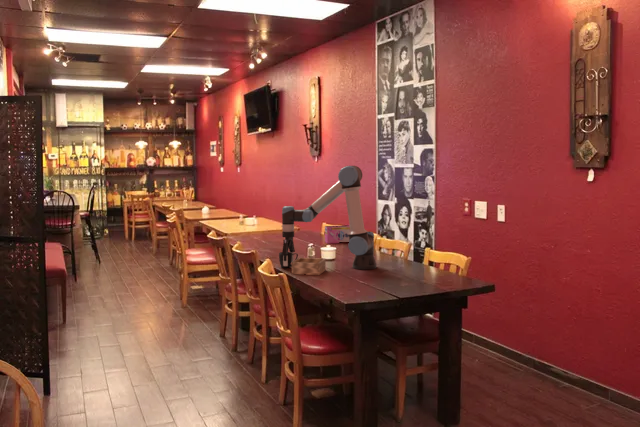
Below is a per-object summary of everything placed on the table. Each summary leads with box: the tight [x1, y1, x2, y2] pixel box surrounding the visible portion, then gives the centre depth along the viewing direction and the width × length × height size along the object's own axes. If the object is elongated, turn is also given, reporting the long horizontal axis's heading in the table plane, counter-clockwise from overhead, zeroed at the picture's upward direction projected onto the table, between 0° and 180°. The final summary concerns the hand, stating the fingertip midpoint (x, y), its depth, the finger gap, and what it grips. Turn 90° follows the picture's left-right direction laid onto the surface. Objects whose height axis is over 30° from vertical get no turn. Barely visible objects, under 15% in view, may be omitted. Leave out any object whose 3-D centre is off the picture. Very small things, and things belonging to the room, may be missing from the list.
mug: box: [278, 251, 299, 270], centre depth 373 cm, size 8×12×10 cm
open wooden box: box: [291, 257, 327, 276], centre depth 359 cm, size 17×17×7 cm
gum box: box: [324, 224, 350, 244], centre depth 484 cm, size 24×8×14 cm, turn 105°
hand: (288, 264), depth 373 cm, fingers open, 13 cm apart
